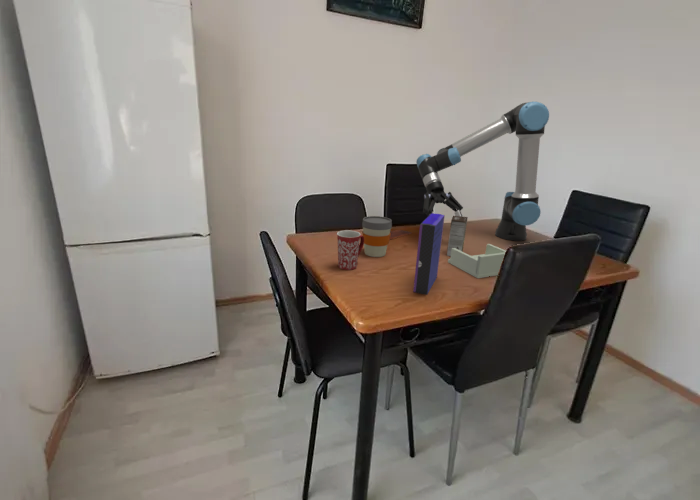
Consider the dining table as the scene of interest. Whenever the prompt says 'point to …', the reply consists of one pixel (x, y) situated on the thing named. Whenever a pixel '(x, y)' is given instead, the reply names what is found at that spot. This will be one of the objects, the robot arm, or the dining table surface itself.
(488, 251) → the tray
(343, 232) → the mug
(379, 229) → the reusable coffee cup
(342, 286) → the dining table surface
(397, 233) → the wooden tablet
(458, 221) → the coffee box
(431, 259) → the cereal box
